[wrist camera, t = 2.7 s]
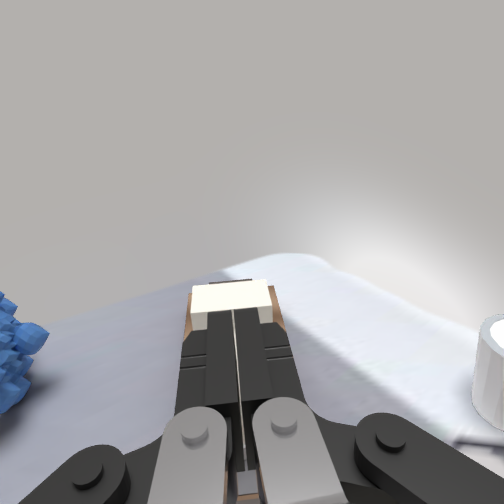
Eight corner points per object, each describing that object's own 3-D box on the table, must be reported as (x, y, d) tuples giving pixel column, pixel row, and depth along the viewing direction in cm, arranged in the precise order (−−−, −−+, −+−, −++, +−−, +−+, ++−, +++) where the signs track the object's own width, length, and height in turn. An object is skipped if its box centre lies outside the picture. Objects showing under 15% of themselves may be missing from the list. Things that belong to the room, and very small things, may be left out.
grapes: (65, 432, 31) (18, 311, 26) (-31, 464, 29) (-104, 339, 24) (69, 346, 41) (34, 245, 36) (-3, 366, 39) (-51, 261, 33)
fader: (278, 455, 26) (273, 309, 20) (212, 463, 25) (190, 317, 20) (270, 411, 29) (264, 276, 24) (212, 418, 28) (193, 282, 23)
